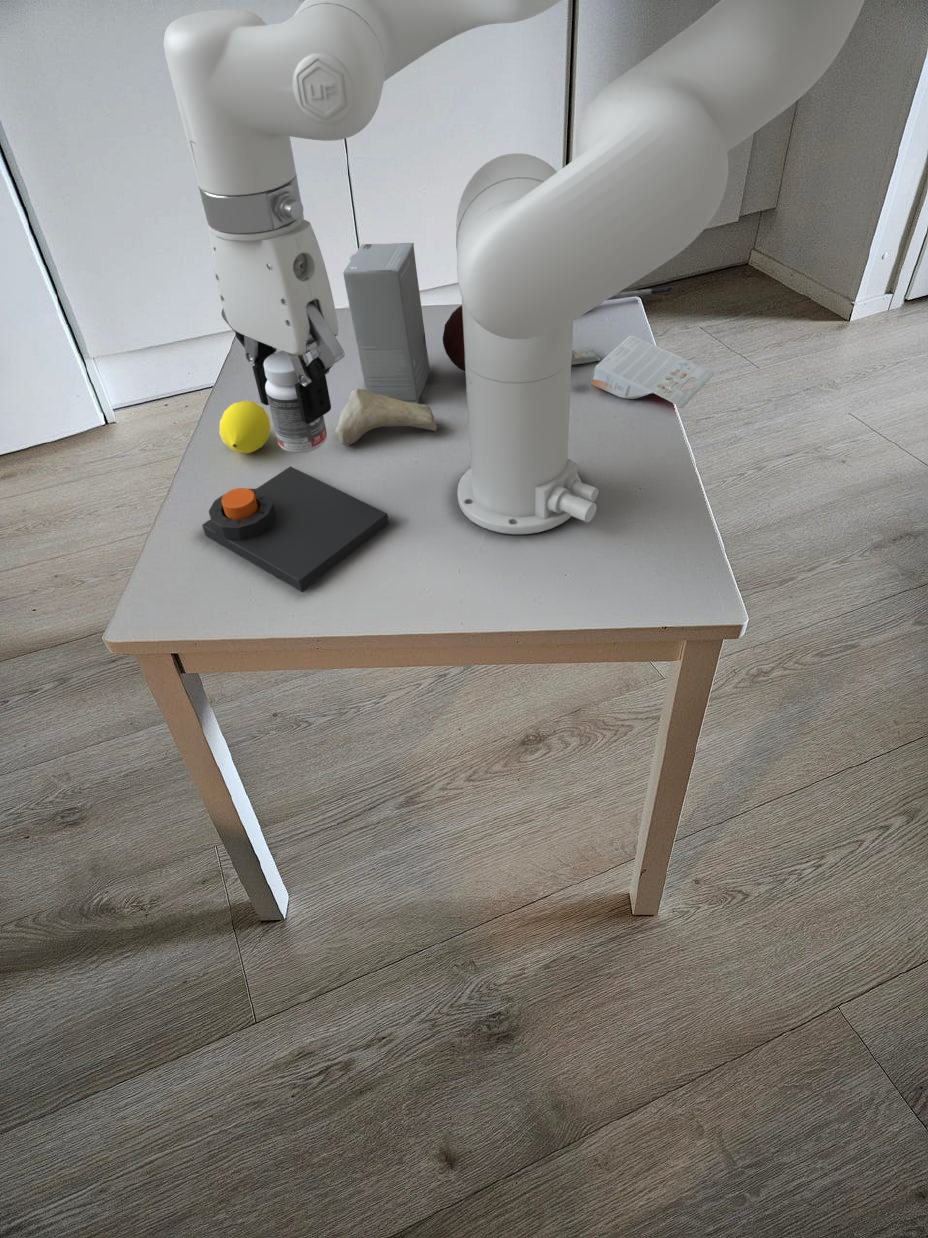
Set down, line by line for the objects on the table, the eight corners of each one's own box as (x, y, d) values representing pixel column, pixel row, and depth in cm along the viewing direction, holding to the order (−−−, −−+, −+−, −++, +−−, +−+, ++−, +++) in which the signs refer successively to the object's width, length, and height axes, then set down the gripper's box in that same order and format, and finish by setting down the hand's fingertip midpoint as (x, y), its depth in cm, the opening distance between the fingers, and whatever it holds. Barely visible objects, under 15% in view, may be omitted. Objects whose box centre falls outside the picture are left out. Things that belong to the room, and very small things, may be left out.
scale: (389, 524, 86) (385, 500, 84) (301, 592, 80) (295, 568, 78) (292, 476, 93) (287, 453, 91) (204, 535, 87) (196, 512, 85)
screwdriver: (675, 303, 117) (666, 295, 120) (678, 281, 115) (668, 273, 118) (498, 327, 114) (492, 318, 116) (497, 305, 112) (491, 296, 114)
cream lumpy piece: (338, 452, 96) (331, 414, 92) (333, 423, 100) (326, 385, 97) (438, 436, 97) (435, 398, 93) (429, 408, 101) (426, 370, 98)
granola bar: (596, 346, 107) (604, 359, 105) (594, 354, 108) (601, 367, 106) (543, 345, 106) (550, 359, 104) (541, 354, 106) (548, 368, 105)
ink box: (625, 349, 107) (707, 391, 104) (588, 383, 102) (674, 428, 99) (631, 329, 105) (716, 371, 102) (594, 362, 100) (682, 408, 97)
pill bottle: (324, 453, 82) (308, 373, 76) (274, 455, 82) (254, 375, 76) (330, 425, 85) (316, 346, 79) (282, 427, 85) (264, 348, 79)
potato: (441, 360, 108) (435, 288, 102) (536, 349, 109) (536, 276, 103) (449, 396, 102) (444, 322, 96) (549, 384, 103) (551, 310, 96)
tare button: (264, 507, 85) (261, 495, 84) (239, 524, 83) (236, 512, 82) (243, 496, 87) (239, 483, 86) (218, 512, 85) (214, 500, 84)
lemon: (238, 429, 100) (226, 387, 96) (283, 431, 99) (273, 389, 96) (216, 465, 95) (203, 422, 92) (263, 467, 95) (251, 425, 91)
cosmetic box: (418, 405, 102) (405, 272, 90) (359, 403, 103) (339, 270, 92) (432, 368, 108) (420, 239, 96) (376, 366, 109) (358, 238, 97)
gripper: (364, 209, 66) (390, 417, 79) (219, 170, 74) (265, 364, 87) (292, 243, 62) (332, 456, 75) (147, 198, 70) (206, 398, 83)
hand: (296, 405), depth 81 cm, fingers closed on pill bottle, 4 cm apart
